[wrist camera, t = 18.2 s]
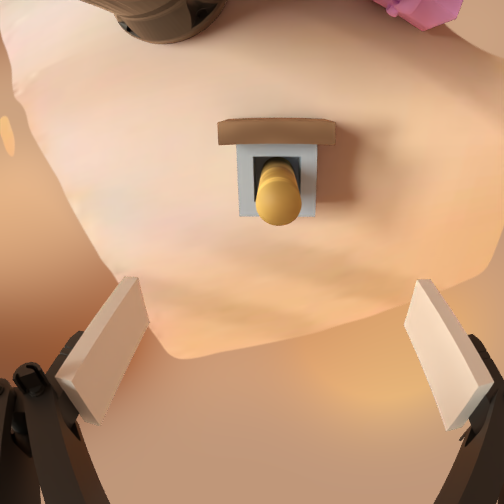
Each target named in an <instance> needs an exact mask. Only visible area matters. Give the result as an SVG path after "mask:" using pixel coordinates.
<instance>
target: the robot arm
mask: <svg viewBox="0 0 504 504" xmlns="http://www.w3.org/2000/svg"><path fill="white" fill-rule="evenodd" d="M80 1H83V2H86V3H89V4H92V5H94V6H97V7H99V8H102V9H104V10H107V11H109V12H112V13H114V15H115V17H116V19H117V21H118V23H119V24H120V26H121V27H122V28H123V29H124V30H125V31H126V32H127V33H128V34H130V35H131V36H133V37H135V38H138V39H140V40H143V41H145V42H149V43H154V44H169V43H175V42H179V41H183V40H185V39H188V38H190V37H192V36H194V35H196V34H198V33H200V32H201V31H203V30H204V29H205V28H207V27H208V26H209V25H210V24H211V23H212V22H213V21H214V20H215V19H216V18H217V17H218V16H219V14H220V13H221V11H222V10H223V8H224V6H225V3H226V1H227V0H80ZM149 323H150V322H149V318H148V314H147V311H146V307H145V303H144V299H143V295H142V291H141V287H140V283H139V279H138V277H124V278H123V279H122V280H121V282H120V283H119V284H118V286H117V287H116V288H115V290H114V291H113V293H112V294H111V295H110V296H109V298H108V299H107V301H106V302H105V303H104V305H103V306H102V307H101V309H100V310H99V312H98V313H97V314H96V316H95V318H94V319H93V320H92V322H91V323H90V324H89V326H88V327H87V329H86V330H85V332H84V331H78V332H77V333H76V334H74V335H73V336H72V337H71V338H70V339H69V340H68V342H67V343H66V345H65V348H63V349H62V350H61V352H60V354H59V355H58V356H57V358H56V359H55V361H54V362H53V364H52V365H51V367H50V368H49V370H48V371H47V373H46V374H44V372H43V370H42V369H41V367H40V365H38V364H37V363H33V362H29V363H25V364H23V365H21V366H20V367H19V368H18V369H17V370H16V371H15V373H14V374H13V381H14V382H15V384H16V385H17V387H12V386H11V385H10V383H9V382H8V381H7V380H6V379H2V378H0V504H41V498H40V487H41V490H42V494H43V497H44V501H45V504H110V502H109V500H108V498H107V496H106V494H105V492H104V490H103V487H102V485H101V483H100V480H99V478H98V476H97V473H96V471H95V468H94V466H93V463H92V461H91V458H90V455H89V453H88V450H87V447H86V444H85V442H84V439H83V436H82V433H81V430H80V427H79V424H78V422H77V421H76V418H77V416H78V414H80V416H81V417H82V418H83V420H84V421H85V422H88V423H91V424H94V425H98V426H101V424H102V422H103V420H104V417H105V415H106V413H107V411H108V408H109V406H110V404H111V402H112V400H113V397H114V395H115V393H116V391H117V389H118V386H119V384H120V382H121V380H122V378H123V376H124V374H125V372H126V369H127V367H128V365H129V363H130V361H131V359H132V356H133V355H134V353H135V351H136V349H137V347H138V345H139V343H140V340H141V339H142V337H143V335H144V332H145V331H146V328H147V327H148V325H149ZM404 327H405V329H406V331H407V333H408V335H409V338H410V340H411V342H412V344H413V346H414V349H415V351H416V354H417V355H418V358H419V361H420V363H421V365H422V368H423V370H424V373H425V375H426V378H427V380H428V383H429V385H430V388H431V390H432V393H433V396H434V398H435V401H436V404H437V406H438V409H439V412H440V415H441V418H442V420H443V423H444V426H445V429H446V431H450V430H453V429H457V428H461V427H462V426H463V425H464V423H465V422H466V421H467V420H468V419H469V421H470V423H471V426H470V427H469V428H468V429H467V431H466V432H465V433H464V434H463V435H462V436H461V438H460V439H459V440H460V441H461V440H462V439H463V438H464V437H465V438H464V440H463V443H462V445H461V448H460V450H459V453H458V455H457V457H456V460H455V462H454V464H453V466H452V469H451V471H450V473H449V475H448V477H447V479H446V481H445V483H444V485H443V487H442V489H441V491H440V493H439V495H438V496H437V498H436V500H435V502H434V504H496V503H497V500H498V504H504V380H503V378H502V376H501V374H500V372H499V371H498V369H497V367H496V365H495V364H494V362H493V360H492V359H490V355H489V354H488V352H486V349H485V347H484V345H483V344H482V342H481V341H480V340H479V339H478V338H477V337H475V336H474V335H473V334H470V335H467V333H466V332H465V330H464V329H463V327H462V325H461V324H460V322H459V321H458V319H457V318H456V316H455V315H454V313H453V312H452V310H451V309H450V307H449V306H448V304H447V303H446V301H445V300H444V298H443V297H442V295H441V294H440V292H439V291H438V289H437V288H436V287H435V285H434V284H433V282H432V281H431V279H417V281H416V285H415V288H414V292H413V296H412V299H411V303H410V306H409V310H408V314H407V316H406V320H405V323H404ZM11 427H12V428H11ZM498 497H499V498H498Z"/></svg>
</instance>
